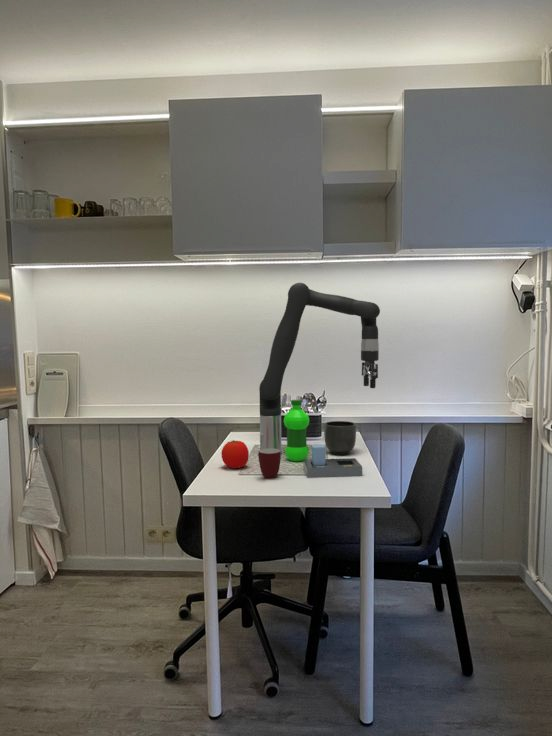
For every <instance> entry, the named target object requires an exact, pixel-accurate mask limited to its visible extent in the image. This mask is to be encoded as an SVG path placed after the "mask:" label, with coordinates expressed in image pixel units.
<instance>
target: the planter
mask: <svg viewBox="0 0 552 736" xmlns="http://www.w3.org/2000/svg"><path fill="white" fill-rule="evenodd" d="M323 434H324V445H325V448H326V449H327V450H328V451H329V452H330V453H331V454H332V455H335V456H347V455H349V454H350V453H351V452H352V451H353V450H354V448H355V445H356V442H357V441H356V439H357V424H356V423H355V422H353V421H346V420H331V421H326V422H324V424H323Z"/></svg>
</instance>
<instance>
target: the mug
mask: <svg viewBox="0 0 552 736" xmlns="http://www.w3.org/2000/svg"><path fill="white" fill-rule="evenodd" d="M281 458H282V454H281V451H280V450H279V449H273V448H268V449H261V450H260V449H259V450H258V463H259V468H260V472H261V475H262V477H263V478H264V479H268V480H269V479H276V478H277V476H278V474H279V471H280V467H281V460H282V459H281Z"/></svg>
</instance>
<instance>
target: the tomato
mask: <svg viewBox="0 0 552 736" xmlns="http://www.w3.org/2000/svg"><path fill="white" fill-rule="evenodd" d="M220 454H221V459H222V462H223V463H224V465H225V466H226V467H228V468H231V469H238V468H243V467H244V466H245V465H246V464H247V463H248V462H249V456H250V455H249V449H248V447H247V444H245V443H244V441H241V440H234V439H233V440H230V441H227V442H226V443H225V444H224V445H223V446H222V449H221V453H220Z"/></svg>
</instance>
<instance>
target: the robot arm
mask: <svg viewBox="0 0 552 736" xmlns="http://www.w3.org/2000/svg"><path fill="white" fill-rule="evenodd" d="M306 306H309V307H316V308H317V307H318V308H321V309H326V310H329V311H333V312H337V313H341V314H344V315H349V316H357V317H360V323H361V341H360V361H362V362H361V376H362V377H363V386H364V387H370V389H376V382H377V381H376V380H377V379H379V365H378V363H375V362H377V361H379V349H380V347H379V346H380V345H379V344H380V343H379V328H378V324H377V318H378V316H379V315H380V312H381V308H380V307H379V305H378V304H376V303H374V302H370V301H366V300H359V299H354V298H352V297H347V296H342V295H338V294H337V295H336V294H331V293H330V294H329V293H323V292H319V291H315V290H313V289H310V288H309V286H308V285H307V284H306V283H303V282H296V283H294V284H292V285H291V286H290V288H288V292H287V301H286V306H285V310H284V312H283V313H284V314H283V316H282V318H281V319H280V322H279V324H278V326H277V330H276V332H275V334H274V338H273V340H272V346H271V348H270V349H271V350H270V354H269V355H270V356H269V362H268V366H267V369H266V372H265V375H264V376H263V378H262V380H261V382H260V384H259V387H258V388H259V389H258V390H259V425H260V426H259V427H260V428H259V450H261V449H268V448H273V449H279V450H280V451H281V455H282V453H283V452H282V447H283V446H282V444H283V443H282V402H281V399H282V394H281V393H282V385H283V378H284V376H285V372H286V368H287V366H288V365H289V361H290V359H291V357H292V354H293V351H294V350H295V346H296V341H297V340H298V339H297V338H298V334H299V330H300V324H301V319H302V317H303V313H304V311H305V309H306Z"/></svg>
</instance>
